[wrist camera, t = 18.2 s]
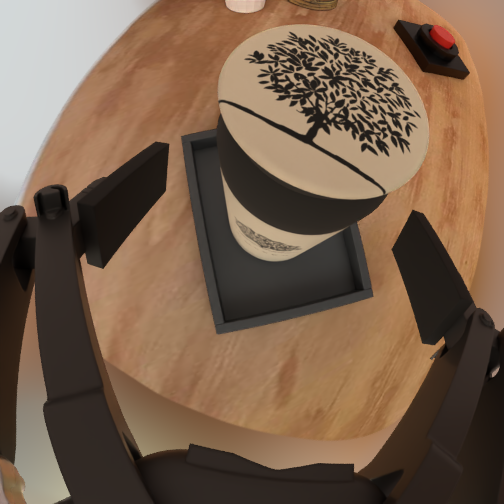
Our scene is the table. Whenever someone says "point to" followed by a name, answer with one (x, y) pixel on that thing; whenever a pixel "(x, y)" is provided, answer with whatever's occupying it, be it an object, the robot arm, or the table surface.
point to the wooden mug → (316, 4)
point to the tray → (261, 271)
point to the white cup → (245, 5)
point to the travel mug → (312, 136)
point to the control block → (431, 51)
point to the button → (442, 36)
